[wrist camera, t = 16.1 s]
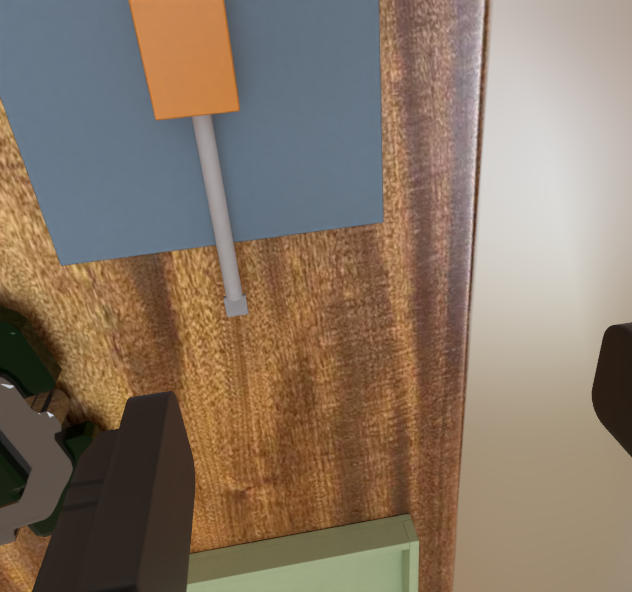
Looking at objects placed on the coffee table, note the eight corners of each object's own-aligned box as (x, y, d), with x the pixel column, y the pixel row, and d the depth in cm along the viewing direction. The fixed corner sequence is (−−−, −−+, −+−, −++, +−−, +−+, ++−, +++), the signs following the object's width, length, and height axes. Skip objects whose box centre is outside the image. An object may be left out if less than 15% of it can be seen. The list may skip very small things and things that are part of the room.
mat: (374, -129, 23) (376, -131, 22) (381, 220, 31) (383, 222, 30) (-65, -96, 21) (-70, -97, 21) (62, 262, 29) (60, 266, 29)
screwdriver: (206, 302, 31) (204, 337, 28) (114, -130, 21) (93, -154, 18) (267, 293, 31) (272, 327, 28) (204, -136, 21) (200, -161, 18)
